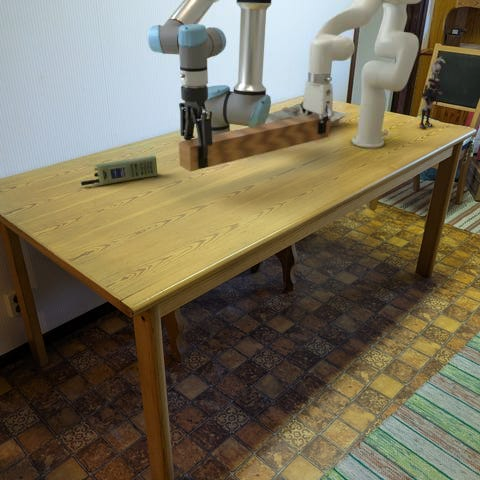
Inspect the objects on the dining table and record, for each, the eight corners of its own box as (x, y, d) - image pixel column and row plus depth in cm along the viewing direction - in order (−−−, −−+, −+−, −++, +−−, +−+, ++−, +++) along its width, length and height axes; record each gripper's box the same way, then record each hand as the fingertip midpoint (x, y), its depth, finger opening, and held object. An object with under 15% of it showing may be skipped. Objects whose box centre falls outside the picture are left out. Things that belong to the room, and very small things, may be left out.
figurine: (421, 131, 217) (435, 58, 202) (409, 128, 221) (422, 56, 206) (438, 124, 226) (453, 54, 211) (426, 121, 230) (440, 52, 215)
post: (316, 132, 183) (318, 112, 179) (328, 137, 179) (330, 116, 175) (179, 165, 152) (178, 141, 148) (190, 171, 148) (189, 147, 144)
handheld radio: (158, 176, 170) (83, 189, 160) (155, 173, 172) (80, 186, 162) (156, 157, 167) (79, 169, 157) (153, 154, 169) (77, 166, 159)
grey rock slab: (245, 130, 217) (303, 143, 199) (245, 116, 214) (304, 128, 197) (296, 115, 242) (351, 125, 225) (297, 102, 239) (353, 111, 222)
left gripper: (165, 80, 145) (169, 157, 156) (201, 93, 132) (204, 176, 143) (187, 77, 149) (190, 152, 160) (225, 89, 136) (225, 170, 147)
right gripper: (346, 81, 164) (340, 135, 173) (309, 72, 176) (305, 123, 185) (330, 84, 160) (325, 139, 169) (293, 75, 172) (290, 126, 181)
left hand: (197, 163), depth 152 cm, fingers closed on post, 6 cm apart
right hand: (314, 130), depth 177 cm, fingers closed on post, 6 cm apart
